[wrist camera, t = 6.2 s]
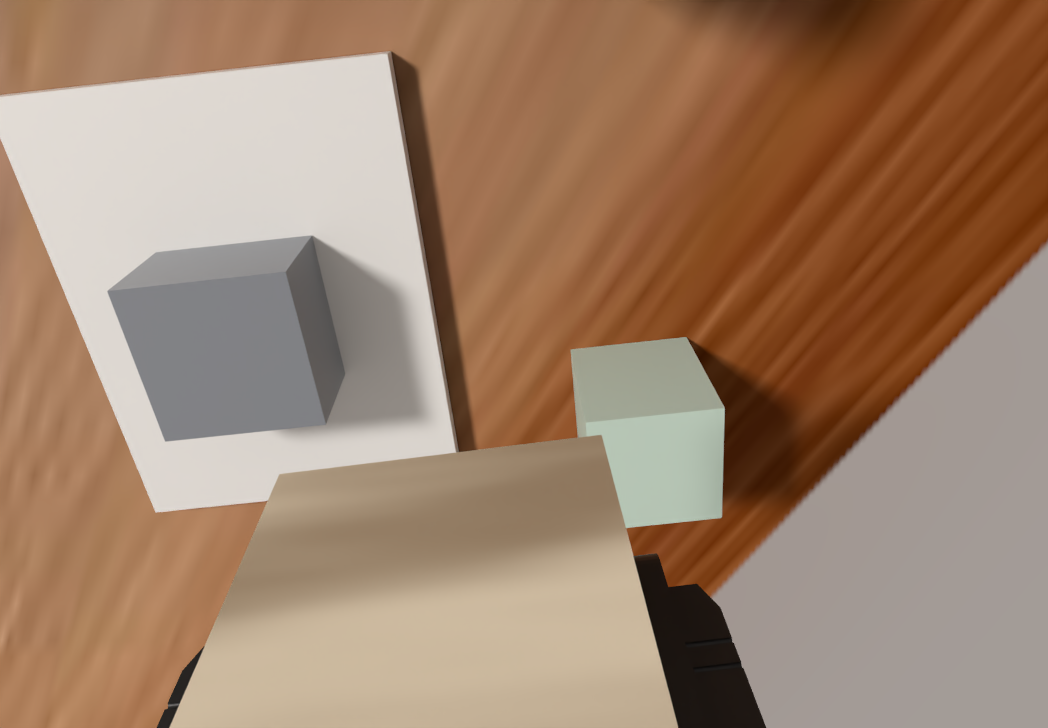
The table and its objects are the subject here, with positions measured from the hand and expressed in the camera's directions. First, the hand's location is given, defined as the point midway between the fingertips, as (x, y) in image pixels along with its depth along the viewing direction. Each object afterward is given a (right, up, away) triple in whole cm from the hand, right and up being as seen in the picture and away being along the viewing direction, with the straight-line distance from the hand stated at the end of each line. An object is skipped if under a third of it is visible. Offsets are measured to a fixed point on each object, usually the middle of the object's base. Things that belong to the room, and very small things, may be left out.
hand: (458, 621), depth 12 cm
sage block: (+6, +3, +21) cm, 22 cm away
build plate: (-10, +6, +19) cm, 22 cm away
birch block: (0, 0, +1) cm, 1 cm away
